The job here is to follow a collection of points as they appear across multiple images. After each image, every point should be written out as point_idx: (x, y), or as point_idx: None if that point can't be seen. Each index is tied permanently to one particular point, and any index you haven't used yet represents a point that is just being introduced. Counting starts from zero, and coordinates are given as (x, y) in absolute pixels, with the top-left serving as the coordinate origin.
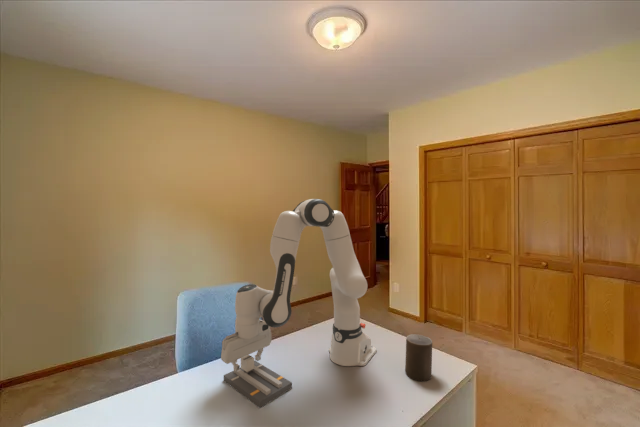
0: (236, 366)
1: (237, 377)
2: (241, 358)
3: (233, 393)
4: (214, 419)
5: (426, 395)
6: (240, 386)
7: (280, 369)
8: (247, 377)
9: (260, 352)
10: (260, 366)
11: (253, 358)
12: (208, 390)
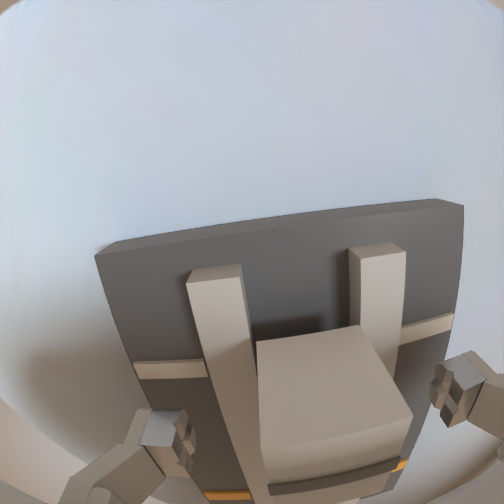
0: (150, 478)
1: (189, 376)
2: (264, 453)
3: (145, 403)
4: (65, 446)
5: None
6: None
7: (478, 350)
8: (243, 450)
9: (496, 431)
10: (431, 333)
11: (373, 492)
12: (25, 283)
